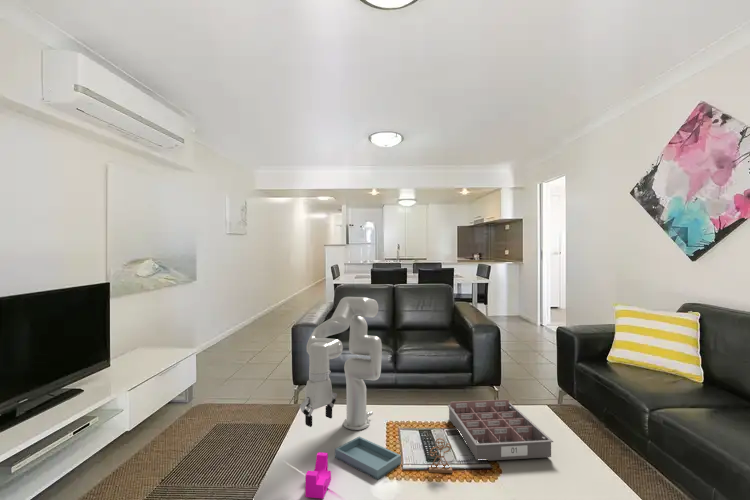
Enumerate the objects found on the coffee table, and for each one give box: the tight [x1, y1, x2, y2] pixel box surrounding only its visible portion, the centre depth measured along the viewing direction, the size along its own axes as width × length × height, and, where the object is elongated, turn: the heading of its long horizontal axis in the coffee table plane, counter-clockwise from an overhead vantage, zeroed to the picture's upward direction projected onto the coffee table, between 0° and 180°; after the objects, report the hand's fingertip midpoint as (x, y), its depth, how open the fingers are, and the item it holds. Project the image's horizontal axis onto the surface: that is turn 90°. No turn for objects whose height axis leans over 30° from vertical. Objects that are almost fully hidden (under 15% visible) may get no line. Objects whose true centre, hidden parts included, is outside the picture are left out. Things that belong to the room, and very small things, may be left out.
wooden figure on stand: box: [428, 437, 454, 474], centre depth 147 cm, size 9×4×12 cm, turn 86°
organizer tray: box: [446, 399, 554, 461], centre depth 171 cm, size 32×40×10 cm
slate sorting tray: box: [334, 436, 402, 481], centre depth 153 cm, size 14×23×4 cm, turn 48°
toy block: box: [304, 451, 332, 499], centre depth 138 cm, size 15×6×8 cm, turn 172°
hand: (319, 421), depth 145 cm, fingers open, 9 cm apart
